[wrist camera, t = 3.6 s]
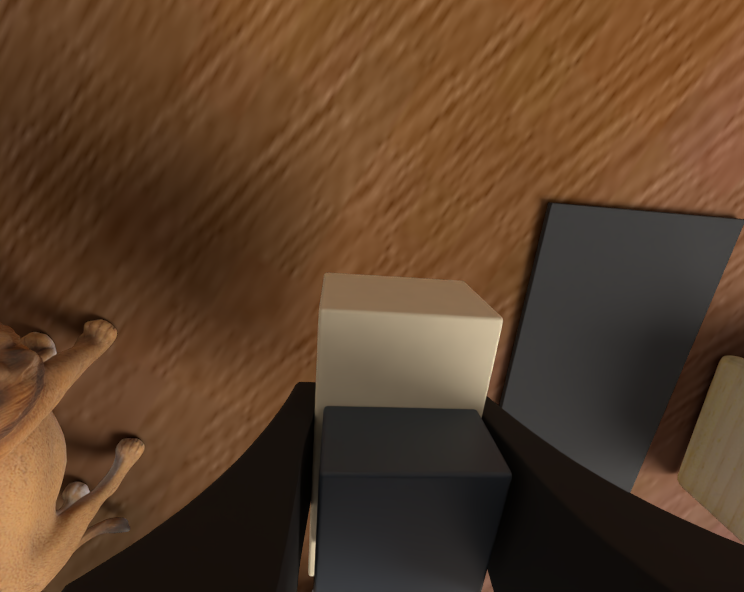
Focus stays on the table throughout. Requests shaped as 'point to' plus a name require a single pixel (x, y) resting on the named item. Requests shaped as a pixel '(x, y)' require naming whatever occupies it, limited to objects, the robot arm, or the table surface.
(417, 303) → the toy car
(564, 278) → the mat
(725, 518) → the toy sofa
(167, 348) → the table surface
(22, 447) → the lion figurine
